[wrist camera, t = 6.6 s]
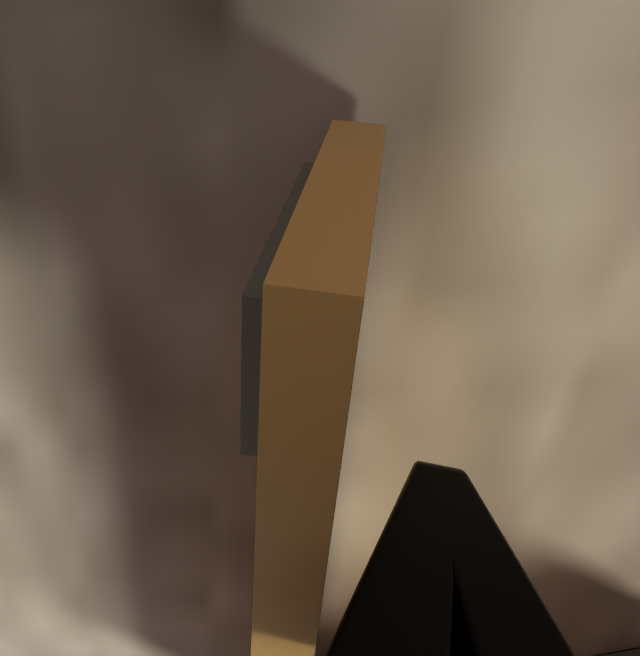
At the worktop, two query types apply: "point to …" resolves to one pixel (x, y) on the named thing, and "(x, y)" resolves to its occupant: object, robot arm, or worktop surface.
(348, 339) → the side door
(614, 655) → the action camera body
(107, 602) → the worktop surface
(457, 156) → the worktop surface
